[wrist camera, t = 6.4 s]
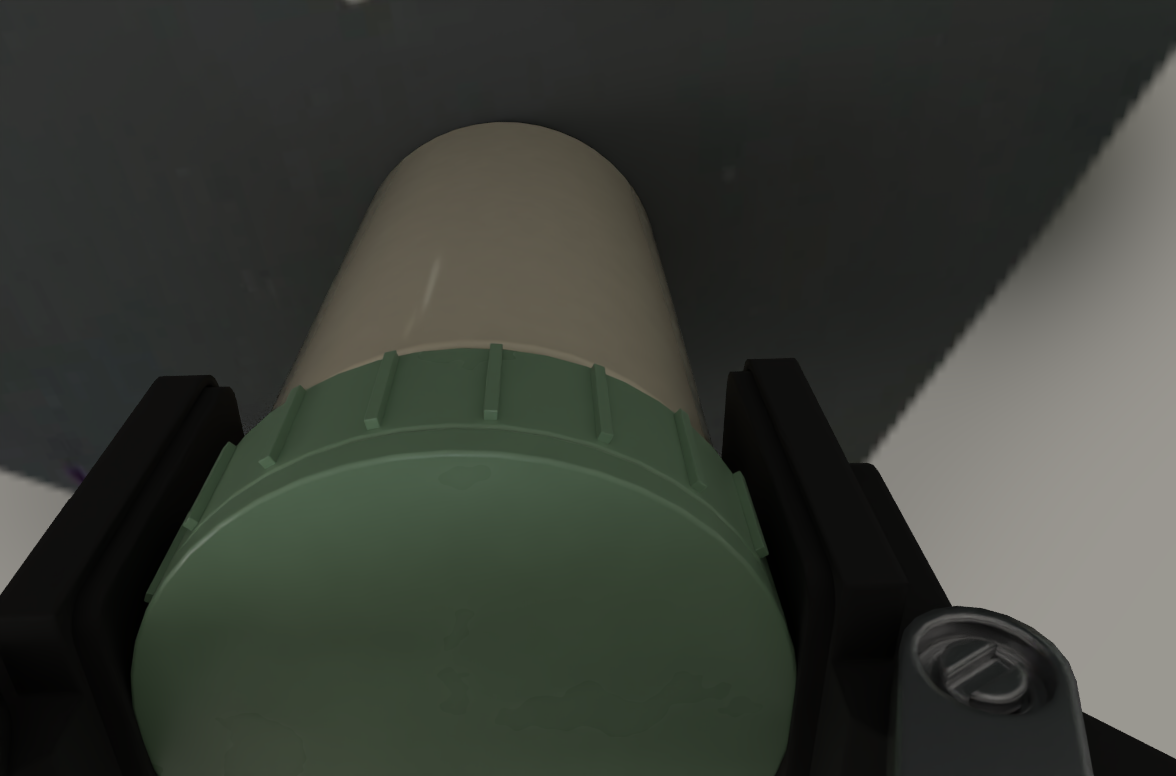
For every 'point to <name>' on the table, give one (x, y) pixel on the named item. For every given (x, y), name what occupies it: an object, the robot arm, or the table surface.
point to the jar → (505, 266)
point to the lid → (467, 587)
